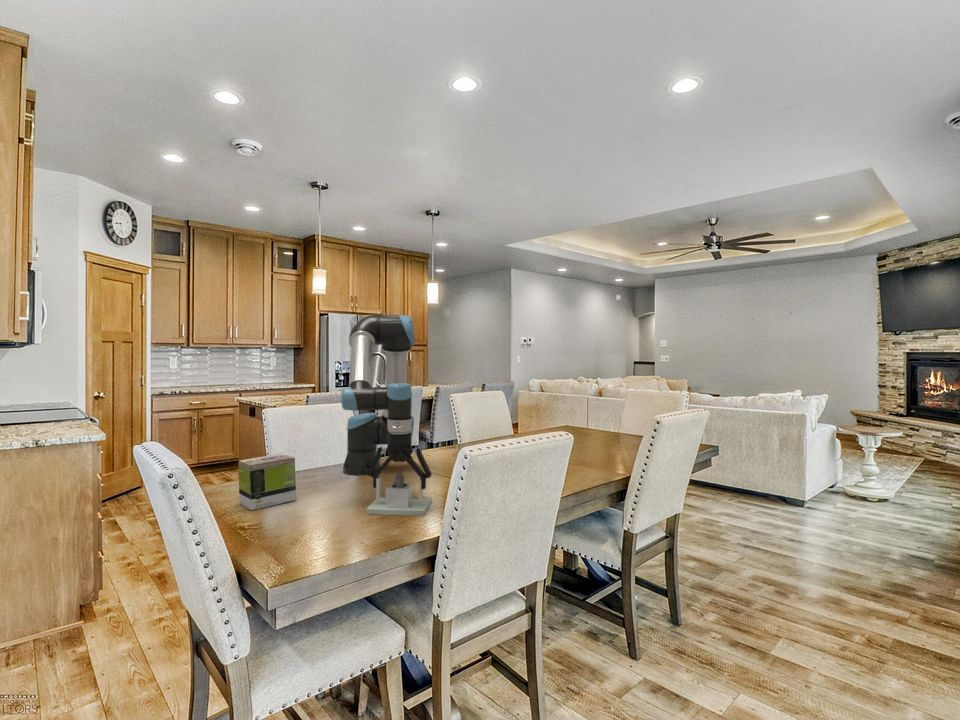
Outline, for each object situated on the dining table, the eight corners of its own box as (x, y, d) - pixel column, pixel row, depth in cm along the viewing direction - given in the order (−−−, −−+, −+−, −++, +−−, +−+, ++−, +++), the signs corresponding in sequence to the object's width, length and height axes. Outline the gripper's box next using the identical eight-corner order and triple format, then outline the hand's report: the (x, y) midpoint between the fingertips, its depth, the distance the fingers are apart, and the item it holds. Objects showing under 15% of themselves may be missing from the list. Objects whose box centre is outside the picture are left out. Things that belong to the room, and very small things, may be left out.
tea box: (283, 494, 180) (283, 452, 180) (296, 501, 173) (296, 457, 172) (238, 504, 170) (237, 459, 169) (250, 511, 162) (249, 464, 162)
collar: (391, 500, 169) (391, 482, 169) (412, 501, 168) (412, 482, 168) (385, 507, 162) (385, 488, 162) (407, 508, 161) (407, 488, 161)
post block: (377, 502, 172) (377, 466, 172) (430, 503, 171) (431, 468, 170) (366, 513, 160) (366, 476, 160) (423, 515, 159) (423, 477, 158)
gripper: (357, 433, 162) (357, 500, 163) (436, 435, 160) (436, 503, 161) (364, 429, 169) (364, 493, 170) (440, 430, 167) (440, 496, 168)
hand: (399, 498), depth 165 cm, fingers open, 13 cm apart
